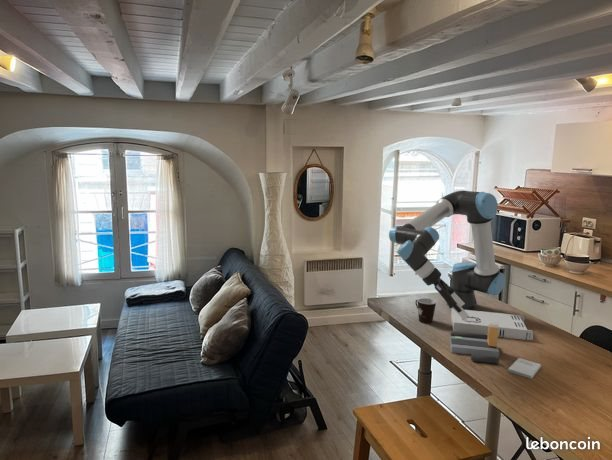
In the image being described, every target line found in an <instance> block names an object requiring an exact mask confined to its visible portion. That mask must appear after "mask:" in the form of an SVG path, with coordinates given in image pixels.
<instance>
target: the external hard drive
mask: <svg viewBox="0 0 612 460" xmlns="http://www.w3.org/2000/svg"><path fill="white" fill-rule="evenodd" d="M541 368H542V364H541V363H537V362H534V361H531V360H528V359H524V358H521V357H518V358H517V359H516V360H515V361H514V362H513V363H512V364H511V365H510V366H509V368H507V372H509V373H512V374H515V375H518V376H522V377H525V378H528V379H531V380H532V379H533V378H534V376H535V375H536V374H537V372H538V371H539V370H540V369H541Z"/></svg>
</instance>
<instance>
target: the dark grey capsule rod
mask: <svg viewBox="0 0 612 460" xmlns="http://www.w3.org/2000/svg"><path fill="white" fill-rule="evenodd" d="M470 360H471V361H472V362H475V363H476V362H477V363H478V362H479V363H487V364H494V365H495V364H499V363H500V358H497V357H489V356H480V355H471V356H470Z"/></svg>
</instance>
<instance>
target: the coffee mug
mask: <svg viewBox="0 0 612 460" xmlns="http://www.w3.org/2000/svg"><path fill="white" fill-rule="evenodd" d="M415 305H416V308H417V310H418V311H417V312H418V322H420V323H422V324H427V323H428V324H432V323H433V320H434V316H435V311H436V310H435V309H436V305H437V300H435V299H432V298H427V297H426V298H425V297H422V298H421V297H420V298H418V299H415Z"/></svg>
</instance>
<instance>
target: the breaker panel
mask: <svg viewBox="0 0 612 460" xmlns="http://www.w3.org/2000/svg"><path fill="white" fill-rule="evenodd" d="M448 342H449V347H450V351H451V353H453V354H454V353H455V354H463V355H471V356H472V355H480V356H489V357H497V358H498V359H500V350H499V348H498V346H497V347H494V346H489V345H488V343H487V340H485V339H475V338H466V337H458V336H451V335H449V341H448Z"/></svg>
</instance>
